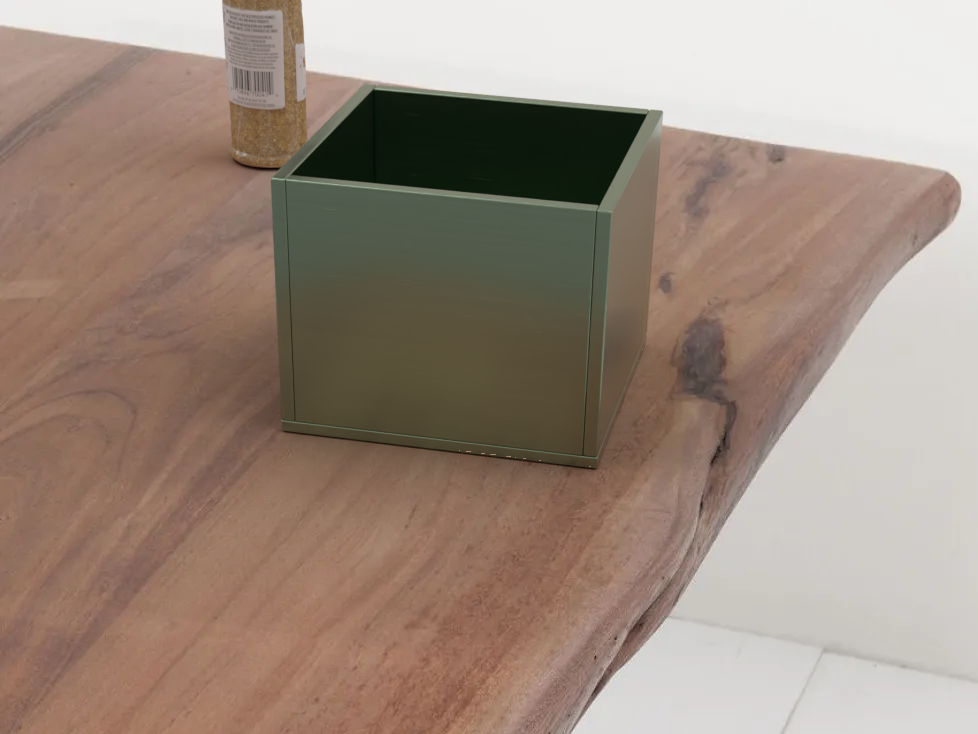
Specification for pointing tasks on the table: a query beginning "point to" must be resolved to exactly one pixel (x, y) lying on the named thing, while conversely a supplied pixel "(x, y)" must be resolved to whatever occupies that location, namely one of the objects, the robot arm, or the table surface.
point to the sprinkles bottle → (265, 80)
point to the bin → (465, 271)
